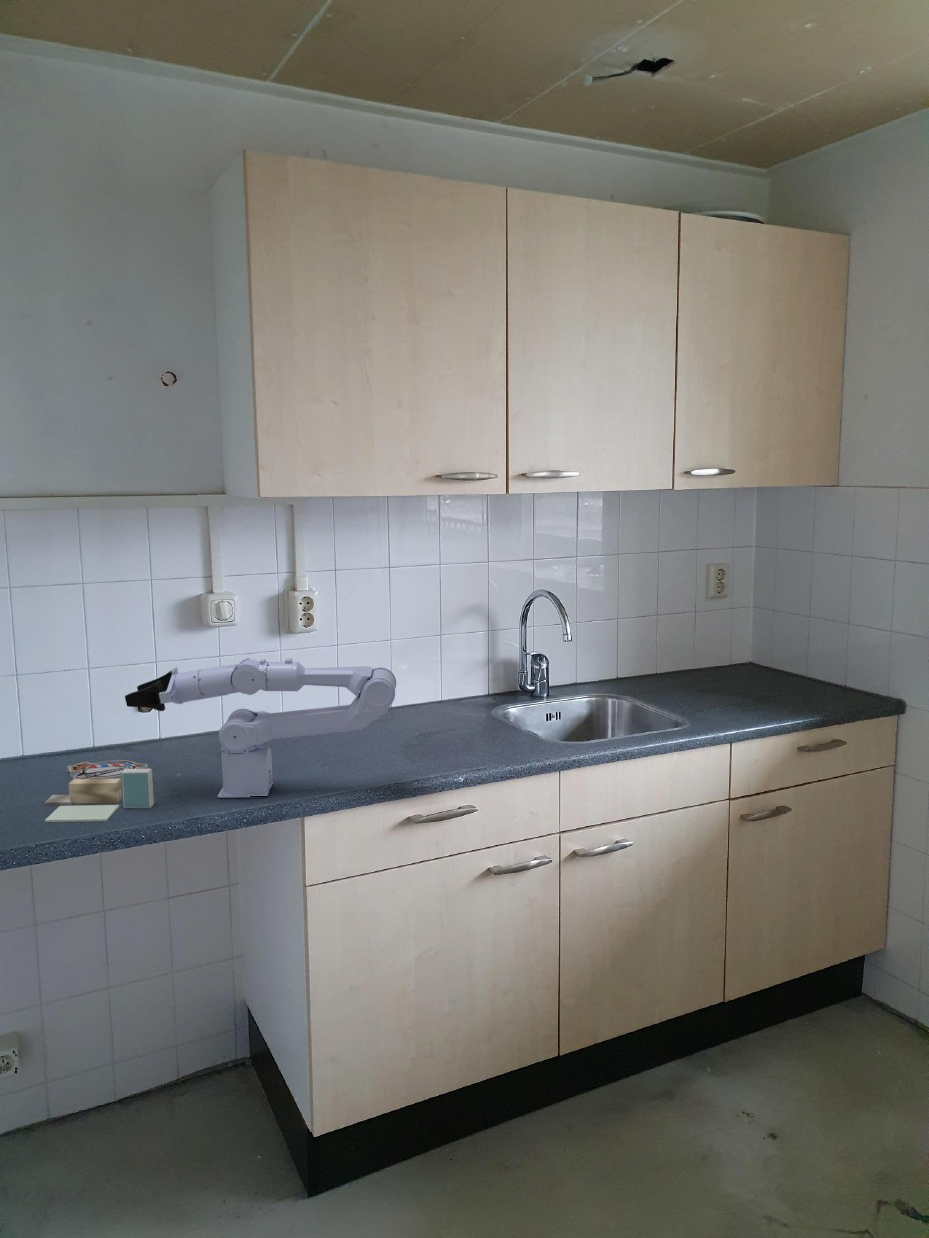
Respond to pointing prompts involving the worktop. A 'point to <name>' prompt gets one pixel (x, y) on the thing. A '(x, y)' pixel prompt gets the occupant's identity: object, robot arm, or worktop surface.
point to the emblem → (102, 769)
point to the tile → (137, 788)
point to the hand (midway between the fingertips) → (132, 696)
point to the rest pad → (82, 813)
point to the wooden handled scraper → (89, 792)
